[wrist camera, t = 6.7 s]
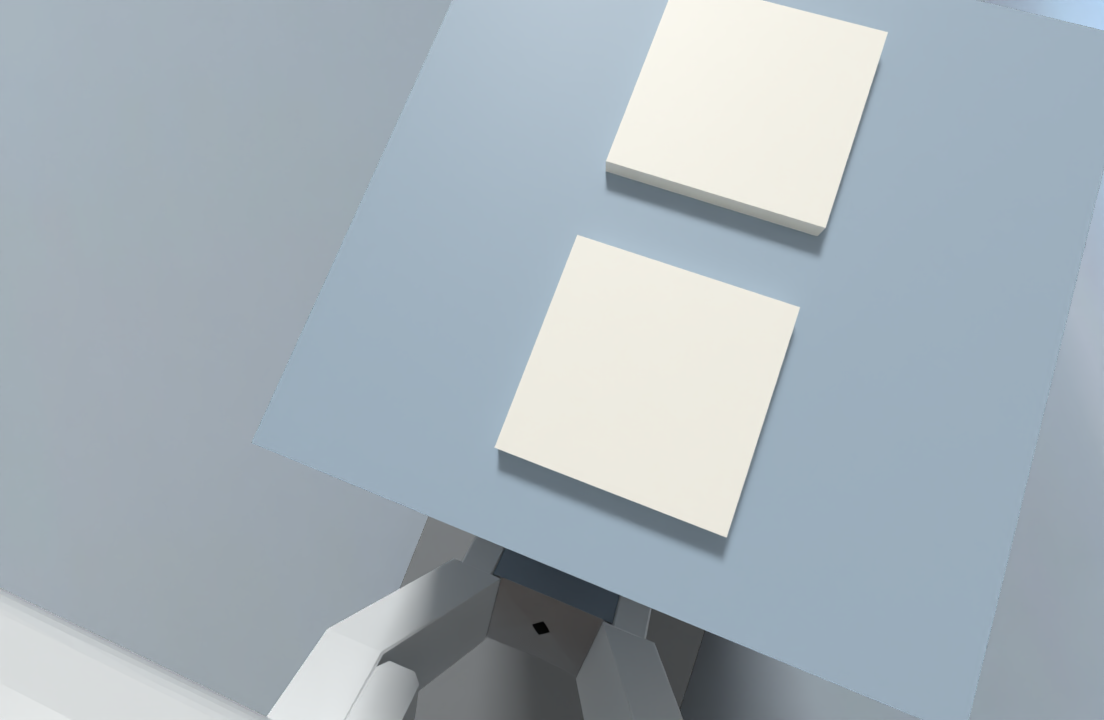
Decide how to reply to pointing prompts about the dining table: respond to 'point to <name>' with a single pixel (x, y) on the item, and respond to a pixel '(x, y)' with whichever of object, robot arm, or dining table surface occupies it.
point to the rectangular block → (723, 311)
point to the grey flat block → (524, 658)
